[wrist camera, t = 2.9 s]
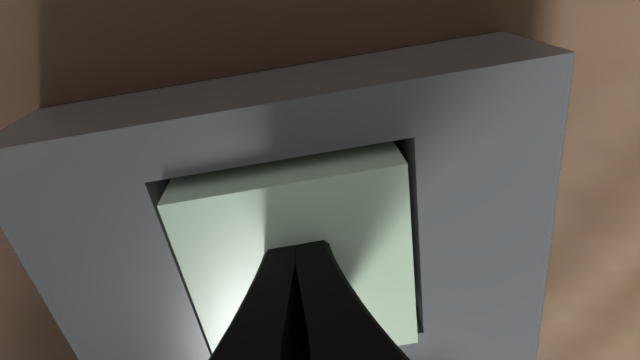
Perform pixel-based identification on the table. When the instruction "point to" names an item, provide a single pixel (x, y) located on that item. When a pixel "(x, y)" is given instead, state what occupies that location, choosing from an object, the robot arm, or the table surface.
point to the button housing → (294, 141)
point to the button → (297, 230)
